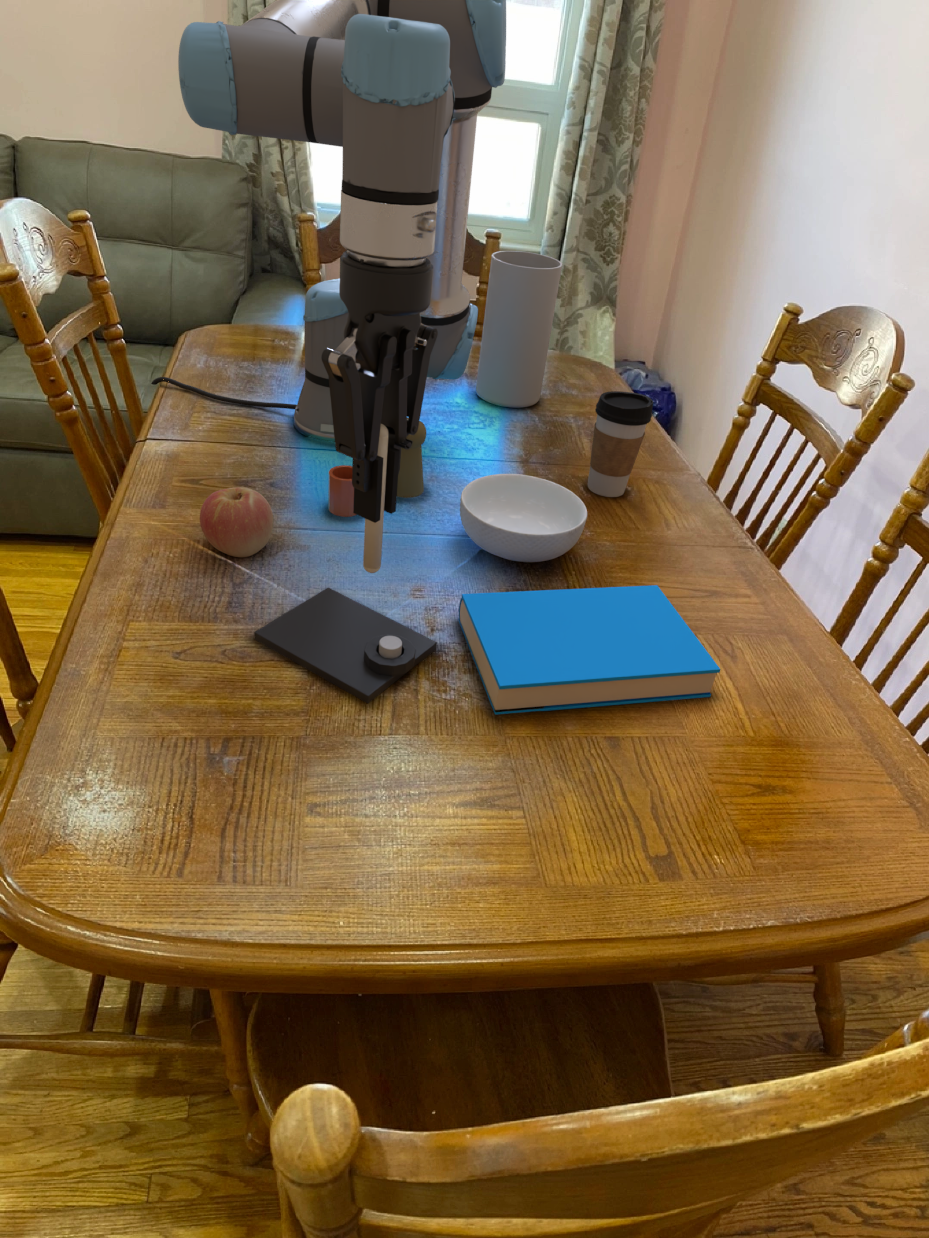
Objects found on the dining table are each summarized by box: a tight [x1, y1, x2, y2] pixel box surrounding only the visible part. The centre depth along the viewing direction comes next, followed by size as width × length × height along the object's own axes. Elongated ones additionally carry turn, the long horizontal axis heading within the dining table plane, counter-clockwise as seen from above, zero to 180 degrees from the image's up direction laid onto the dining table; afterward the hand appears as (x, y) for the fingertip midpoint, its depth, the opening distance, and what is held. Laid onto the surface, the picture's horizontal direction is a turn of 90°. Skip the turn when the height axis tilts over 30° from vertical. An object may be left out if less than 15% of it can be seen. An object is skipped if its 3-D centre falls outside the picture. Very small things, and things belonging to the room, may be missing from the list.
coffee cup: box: [587, 390, 654, 498], centre depth 126 cm, size 8×8×15 cm
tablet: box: [253, 587, 438, 704], centre depth 90 cm, size 17×12×2 cm
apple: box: [199, 486, 275, 558], centre depth 102 cm, size 9×9×8 cm
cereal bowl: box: [459, 473, 588, 563], centre depth 110 cm, size 17×17×7 cm
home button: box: [379, 636, 402, 659], centre depth 87 cm, size 2×2×1 cm
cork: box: [397, 417, 427, 499], centre depth 119 cm, size 6×6×11 cm
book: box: [458, 584, 721, 715], centre depth 93 cm, size 17×4×25 cm
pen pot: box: [327, 464, 358, 518], centre depth 113 cm, size 5×5×6 cm
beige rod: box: [362, 424, 388, 574], centre depth 79 cm, size 2×2×16 cm
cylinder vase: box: [475, 250, 563, 409], centre depth 152 cm, size 12×12×25 cm
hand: (374, 511), depth 80 cm, fingers closed on beige rod, 2 cm apart
